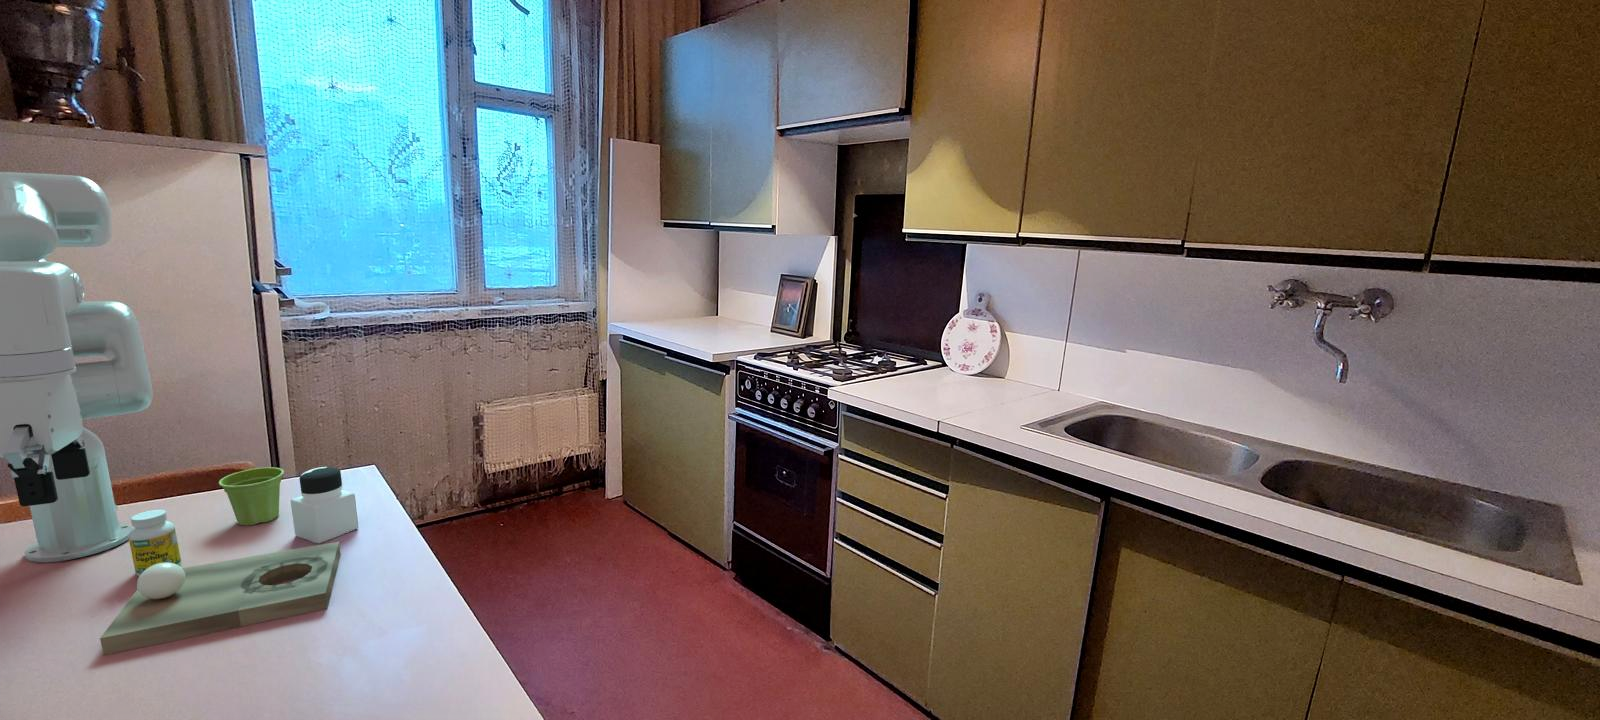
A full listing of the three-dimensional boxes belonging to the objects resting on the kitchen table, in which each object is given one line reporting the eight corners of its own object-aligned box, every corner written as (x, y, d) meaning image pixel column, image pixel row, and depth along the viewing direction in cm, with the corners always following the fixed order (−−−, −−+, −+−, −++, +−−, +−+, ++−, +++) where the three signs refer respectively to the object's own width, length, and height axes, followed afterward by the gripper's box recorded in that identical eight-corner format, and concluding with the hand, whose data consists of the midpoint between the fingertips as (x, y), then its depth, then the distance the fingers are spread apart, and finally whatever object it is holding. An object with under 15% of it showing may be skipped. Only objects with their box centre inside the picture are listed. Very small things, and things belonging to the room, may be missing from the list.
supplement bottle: (184, 558, 110) (175, 504, 108) (177, 572, 106) (168, 517, 104) (140, 566, 107) (130, 511, 105) (131, 581, 103) (120, 524, 101)
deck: (152, 588, 101) (149, 573, 101) (340, 554, 113) (339, 541, 112) (103, 655, 86) (99, 638, 85) (327, 608, 97) (325, 592, 97)
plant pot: (262, 531, 120) (256, 486, 119) (212, 529, 121) (204, 484, 119) (301, 509, 130) (296, 468, 128) (254, 508, 130) (248, 466, 128)
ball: (147, 592, 96) (141, 560, 95) (192, 584, 98) (187, 553, 97) (134, 609, 92) (128, 576, 91) (182, 600, 94) (176, 568, 93)
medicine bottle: (359, 528, 122) (352, 467, 120) (318, 544, 116) (310, 480, 114) (335, 520, 125) (328, 461, 123) (294, 536, 119) (285, 473, 117)
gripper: (22, 354, 89) (47, 473, 93) (-55, 381, 75) (-21, 521, 78) (99, 350, 93) (120, 464, 96) (40, 375, 78) (68, 509, 82)
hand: (57, 490), depth 87 cm, fingers open, 9 cm apart
